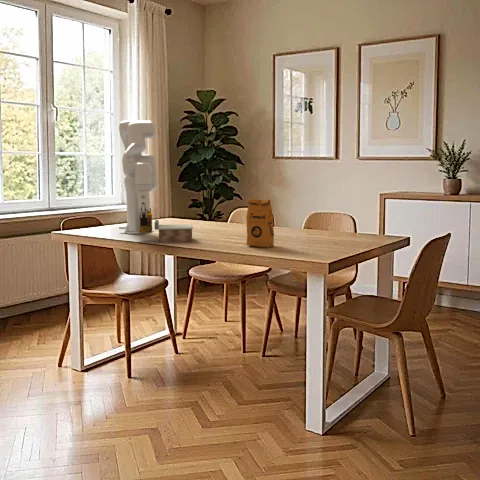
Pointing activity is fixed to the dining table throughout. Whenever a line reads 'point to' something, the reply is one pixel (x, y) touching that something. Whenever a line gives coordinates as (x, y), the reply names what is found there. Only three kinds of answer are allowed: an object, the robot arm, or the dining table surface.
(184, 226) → the lid
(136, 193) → the robot arm
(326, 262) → the dining table surface
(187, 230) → the box
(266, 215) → the coffee package
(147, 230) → the condiment
